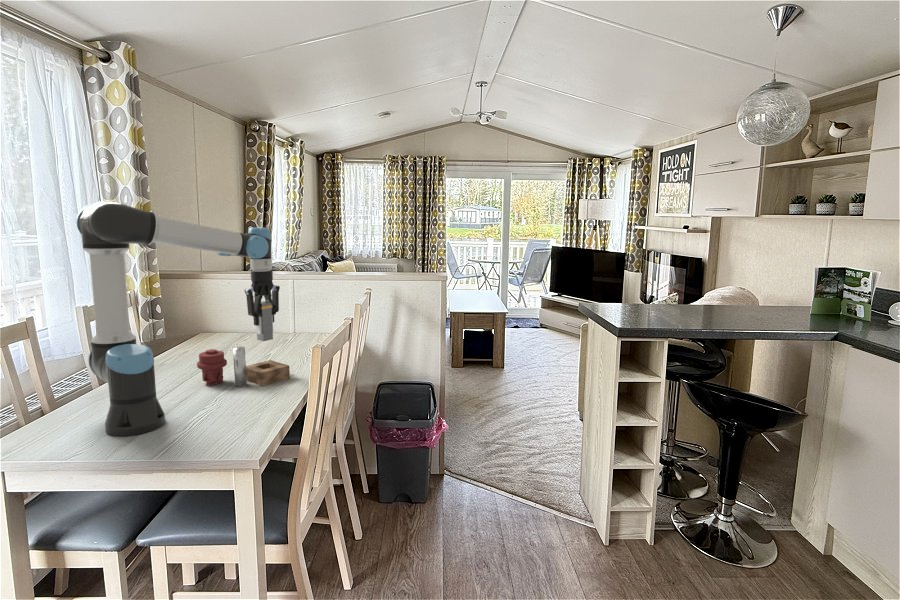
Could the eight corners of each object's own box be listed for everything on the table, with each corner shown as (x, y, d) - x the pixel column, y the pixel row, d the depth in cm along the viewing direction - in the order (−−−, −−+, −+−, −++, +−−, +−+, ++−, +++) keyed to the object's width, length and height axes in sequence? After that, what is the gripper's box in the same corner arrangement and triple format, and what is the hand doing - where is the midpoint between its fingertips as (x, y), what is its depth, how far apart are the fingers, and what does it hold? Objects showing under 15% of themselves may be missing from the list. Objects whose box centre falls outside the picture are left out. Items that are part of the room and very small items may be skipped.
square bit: (263, 341, 195) (261, 303, 193) (256, 339, 198) (254, 302, 196) (273, 339, 199) (272, 302, 197) (266, 337, 202) (265, 301, 199)
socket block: (262, 386, 193) (261, 372, 192) (243, 379, 200) (242, 366, 199) (289, 378, 202) (289, 365, 201) (270, 372, 209) (270, 360, 208)
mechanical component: (233, 379, 199) (216, 388, 190) (209, 378, 201) (192, 386, 192) (231, 348, 197) (214, 354, 188) (207, 346, 199) (189, 353, 190)
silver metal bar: (239, 387, 191) (236, 349, 189) (232, 385, 193) (230, 348, 191) (249, 384, 194) (247, 347, 192) (242, 382, 196) (240, 345, 194)
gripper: (246, 272, 185) (249, 338, 189) (287, 269, 199) (290, 330, 203) (234, 271, 190) (238, 335, 194) (275, 267, 203) (278, 327, 207)
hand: (264, 332), depth 198 cm, fingers closed on square bit, 4 cm apart
